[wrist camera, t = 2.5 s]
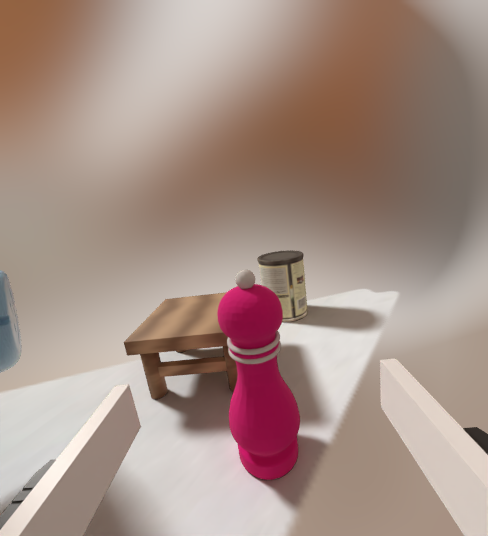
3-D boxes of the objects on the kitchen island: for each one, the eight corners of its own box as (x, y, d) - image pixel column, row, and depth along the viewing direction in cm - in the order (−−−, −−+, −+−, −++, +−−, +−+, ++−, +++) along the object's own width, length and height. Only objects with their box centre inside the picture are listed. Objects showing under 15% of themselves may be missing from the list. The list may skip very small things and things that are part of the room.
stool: (140, 404, 35) (123, 342, 33) (175, 344, 51) (165, 299, 49) (251, 395, 34) (241, 330, 32) (252, 336, 50) (245, 290, 47)
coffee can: (269, 303, 65) (263, 252, 62) (309, 304, 62) (305, 249, 59) (259, 321, 56) (251, 261, 53) (305, 323, 52) (300, 259, 49)
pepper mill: (312, 481, 23) (293, 274, 18) (235, 491, 23) (197, 288, 18) (294, 417, 30) (277, 256, 25) (235, 425, 30) (207, 266, 25)
